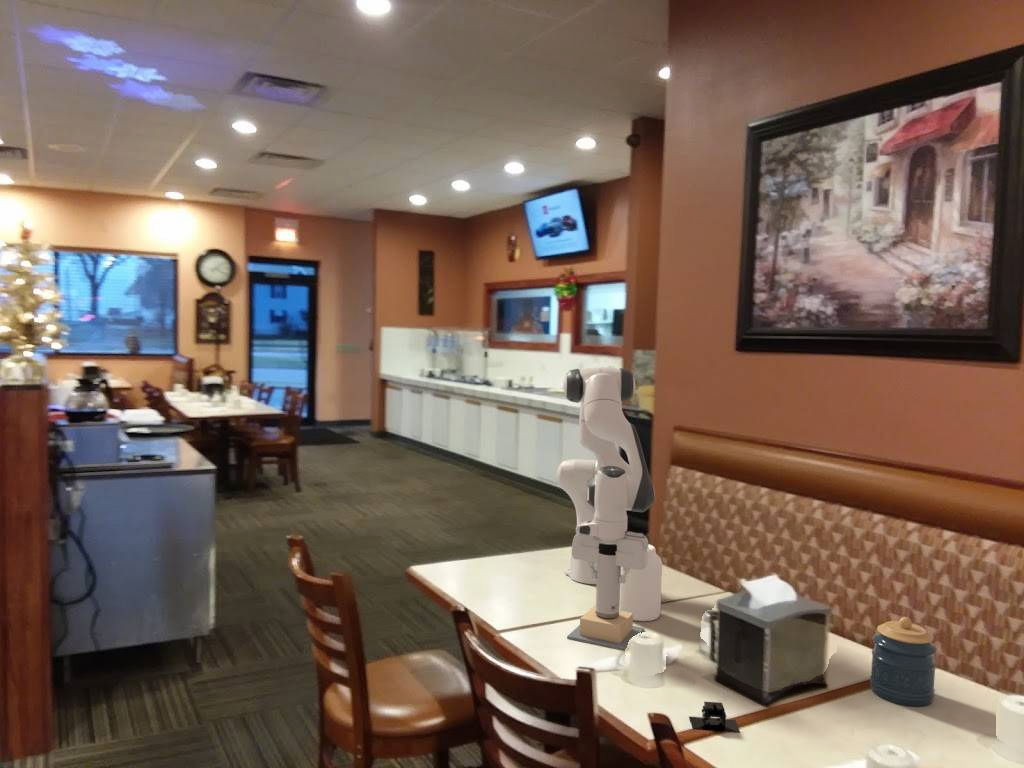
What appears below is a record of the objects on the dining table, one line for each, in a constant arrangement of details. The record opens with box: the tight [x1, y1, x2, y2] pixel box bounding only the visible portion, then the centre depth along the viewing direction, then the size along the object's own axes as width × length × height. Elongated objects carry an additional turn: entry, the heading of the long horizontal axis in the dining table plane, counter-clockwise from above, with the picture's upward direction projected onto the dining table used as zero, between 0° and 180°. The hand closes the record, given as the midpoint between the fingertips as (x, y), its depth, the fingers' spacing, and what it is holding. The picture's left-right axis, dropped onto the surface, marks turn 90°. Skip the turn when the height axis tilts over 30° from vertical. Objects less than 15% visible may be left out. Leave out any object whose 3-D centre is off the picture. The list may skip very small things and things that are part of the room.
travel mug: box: [595, 544, 621, 618], centre depth 203 cm, size 6×7×20 cm
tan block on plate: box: [566, 605, 645, 651], centre depth 203 cm, size 16×16×5 cm
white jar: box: [619, 543, 663, 622], centre depth 219 cm, size 12×12×20 cm
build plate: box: [688, 701, 741, 734], centre depth 157 cm, size 12×7×5 cm, turn 85°
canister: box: [869, 616, 938, 707], centre depth 172 cm, size 13×13×18 cm
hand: (608, 580), depth 203 cm, fingers closed on travel mug, 6 cm apart
